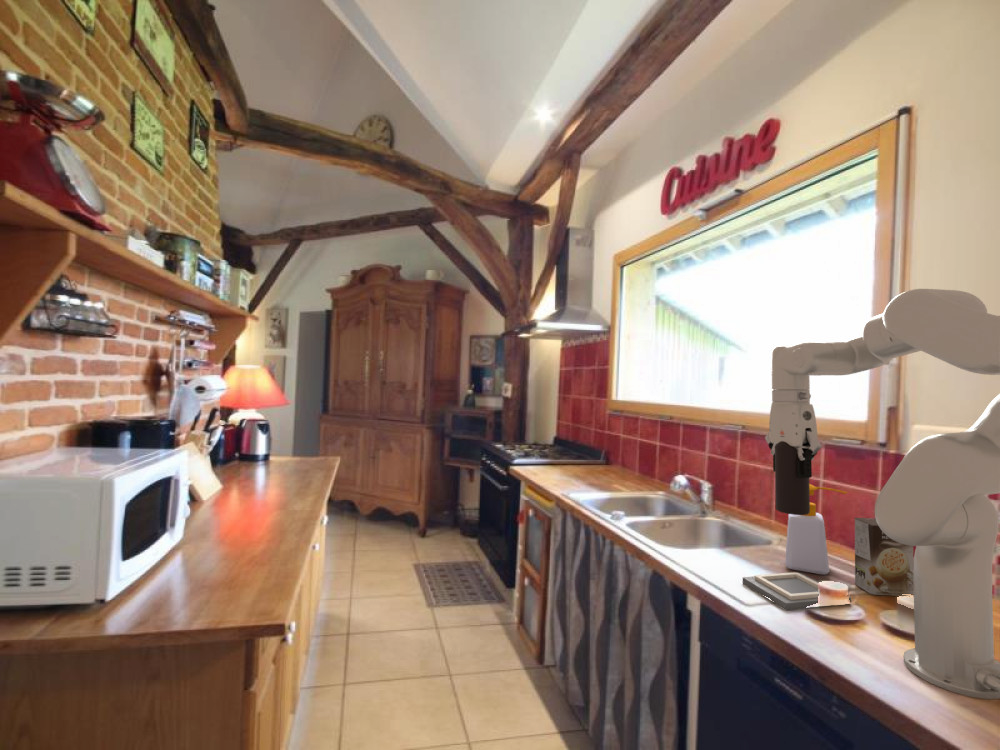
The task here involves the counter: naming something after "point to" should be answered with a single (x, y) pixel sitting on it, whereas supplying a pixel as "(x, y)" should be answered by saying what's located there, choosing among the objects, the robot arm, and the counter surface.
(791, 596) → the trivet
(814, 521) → the soap bottle
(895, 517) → the robot arm
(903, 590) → the cookie box
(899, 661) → the counter surface
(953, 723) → the counter surface
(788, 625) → the counter surface
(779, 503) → the vinegar
